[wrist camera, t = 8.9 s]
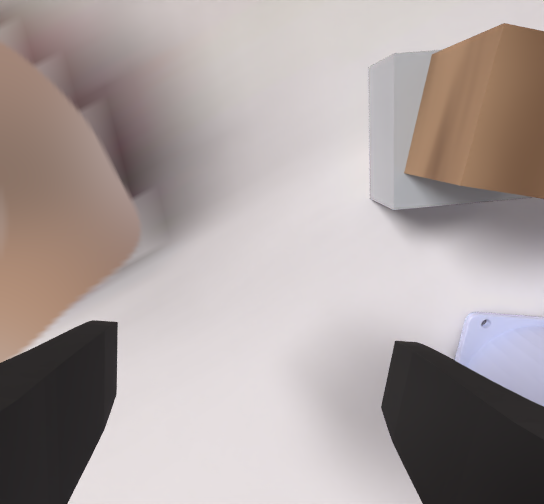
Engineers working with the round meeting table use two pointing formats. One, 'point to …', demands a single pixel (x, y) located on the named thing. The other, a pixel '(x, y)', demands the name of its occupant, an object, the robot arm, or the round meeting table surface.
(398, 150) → the grey block
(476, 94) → the walnut cube
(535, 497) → the robot arm
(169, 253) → the round meeting table surface
